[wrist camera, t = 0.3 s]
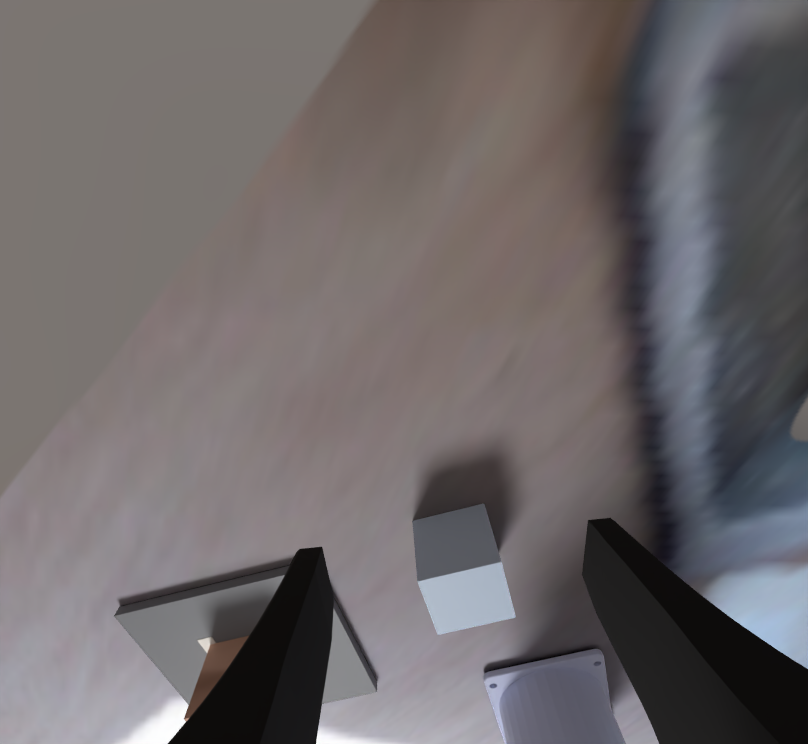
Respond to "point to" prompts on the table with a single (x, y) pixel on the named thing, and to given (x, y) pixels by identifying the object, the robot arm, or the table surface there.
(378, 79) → the table surface
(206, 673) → the terracotta block
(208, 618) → the board
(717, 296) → the table surface
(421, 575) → the pale blue cube
